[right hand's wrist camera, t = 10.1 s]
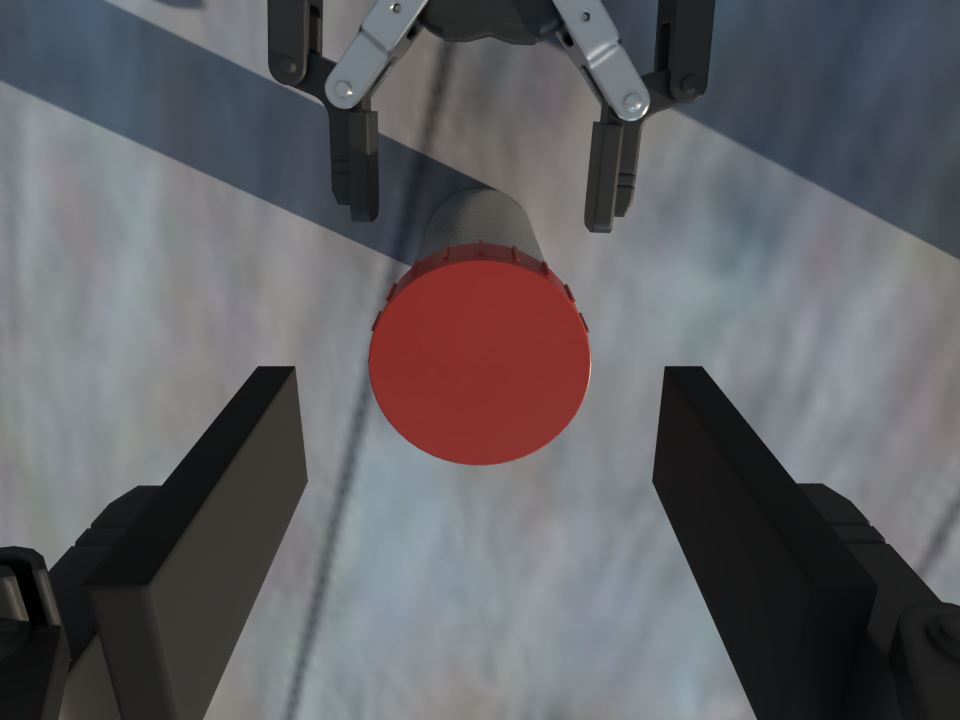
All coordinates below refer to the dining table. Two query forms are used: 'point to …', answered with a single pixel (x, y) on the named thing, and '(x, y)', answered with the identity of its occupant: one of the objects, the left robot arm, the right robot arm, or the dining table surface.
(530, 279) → the lid
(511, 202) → the bottle
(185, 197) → the dining table surface
